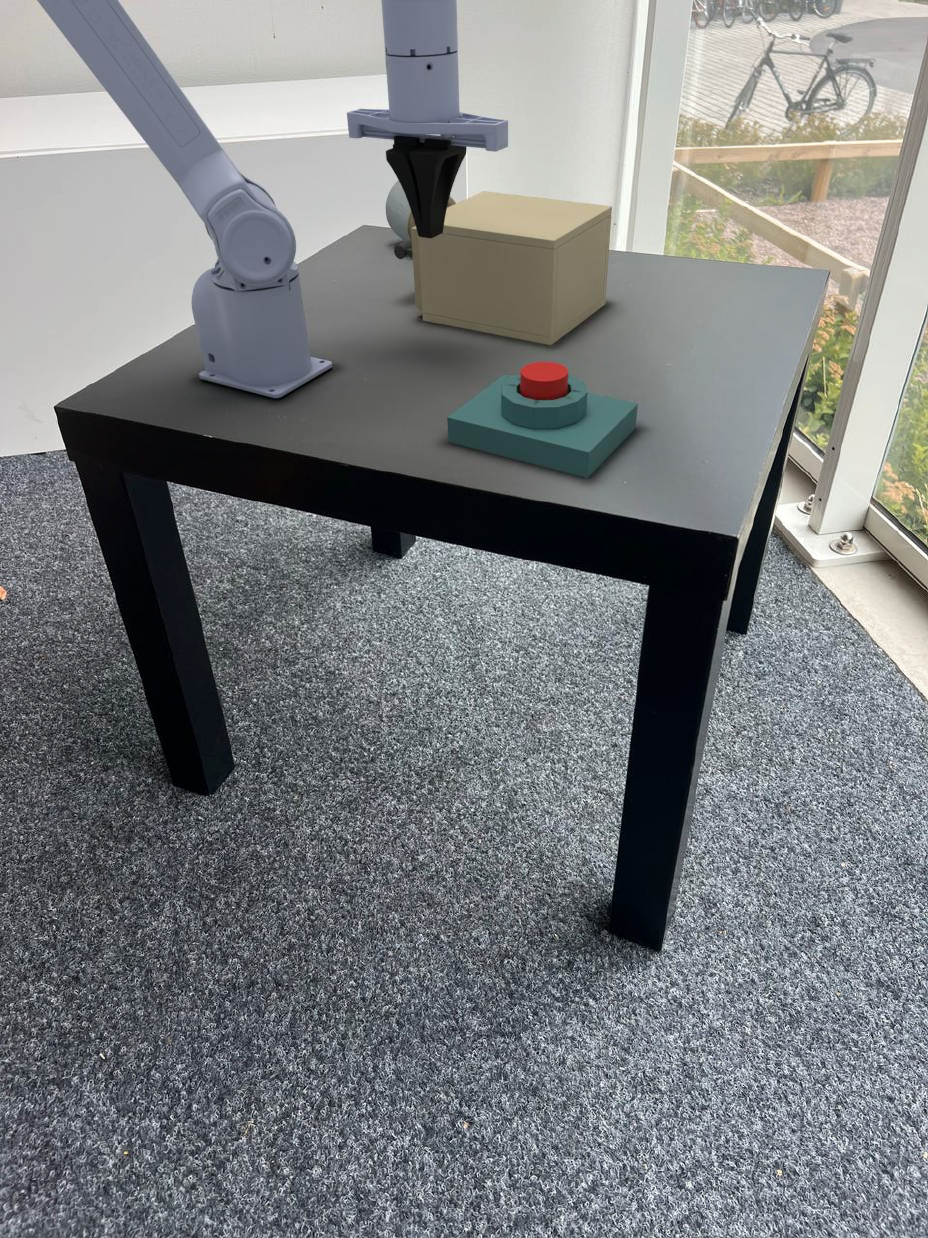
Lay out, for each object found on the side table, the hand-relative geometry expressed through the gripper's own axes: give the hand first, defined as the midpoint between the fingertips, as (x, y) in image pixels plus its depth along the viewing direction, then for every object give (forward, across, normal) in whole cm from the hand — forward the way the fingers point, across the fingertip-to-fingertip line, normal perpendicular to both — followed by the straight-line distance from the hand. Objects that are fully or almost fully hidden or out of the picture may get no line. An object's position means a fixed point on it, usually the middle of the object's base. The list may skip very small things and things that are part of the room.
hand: (430, 234), depth 78 cm
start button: (+7, -17, +11) cm, 21 cm away
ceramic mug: (+11, +18, -28) cm, 35 cm away
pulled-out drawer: (+10, +2, -12) cm, 15 cm away
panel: (+10, -17, +11) cm, 23 cm away
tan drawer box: (+10, -2, -12) cm, 16 cm away
